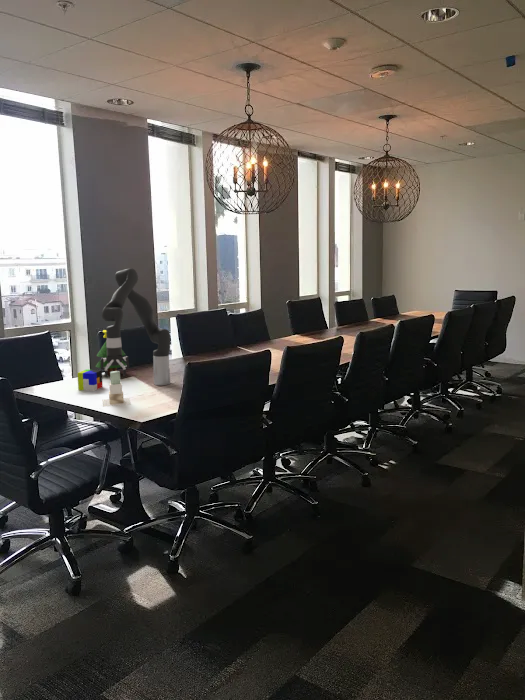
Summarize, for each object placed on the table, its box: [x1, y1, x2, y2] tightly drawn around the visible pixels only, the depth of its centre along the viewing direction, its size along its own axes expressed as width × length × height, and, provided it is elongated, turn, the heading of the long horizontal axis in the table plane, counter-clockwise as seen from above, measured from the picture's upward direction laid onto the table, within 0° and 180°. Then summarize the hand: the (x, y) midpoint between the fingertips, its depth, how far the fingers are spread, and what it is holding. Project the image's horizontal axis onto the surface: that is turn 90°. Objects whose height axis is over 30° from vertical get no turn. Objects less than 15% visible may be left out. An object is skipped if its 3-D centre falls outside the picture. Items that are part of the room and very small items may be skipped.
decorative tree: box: [95, 329, 127, 377], centre depth 377 cm, size 19×19×30 cm
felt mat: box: [102, 397, 132, 407], centre depth 310 cm, size 14×14×1 cm
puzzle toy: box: [77, 369, 104, 392], centre depth 342 cm, size 10×10×10 cm
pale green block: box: [109, 370, 122, 384], centre depth 308 cm, size 5×5×6 cm
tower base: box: [108, 390, 124, 404], centre depth 310 cm, size 7×7×5 cm
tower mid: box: [109, 381, 123, 394], centre depth 309 cm, size 6×6×5 cm
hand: (115, 376), depth 308 cm, fingers open, 8 cm apart
